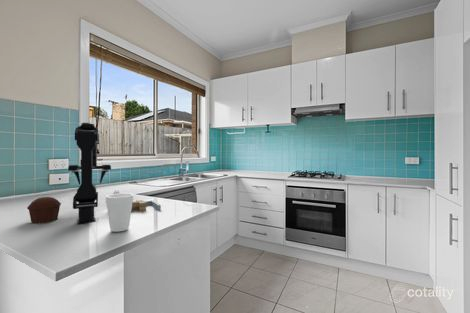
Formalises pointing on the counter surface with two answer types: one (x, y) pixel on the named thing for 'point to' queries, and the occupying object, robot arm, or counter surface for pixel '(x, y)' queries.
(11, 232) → the counter surface
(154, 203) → the corner fence
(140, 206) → the T block
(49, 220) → the muffin
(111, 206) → the foam cup
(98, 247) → the counter surface
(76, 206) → the robot arm
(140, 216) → the counter surface
